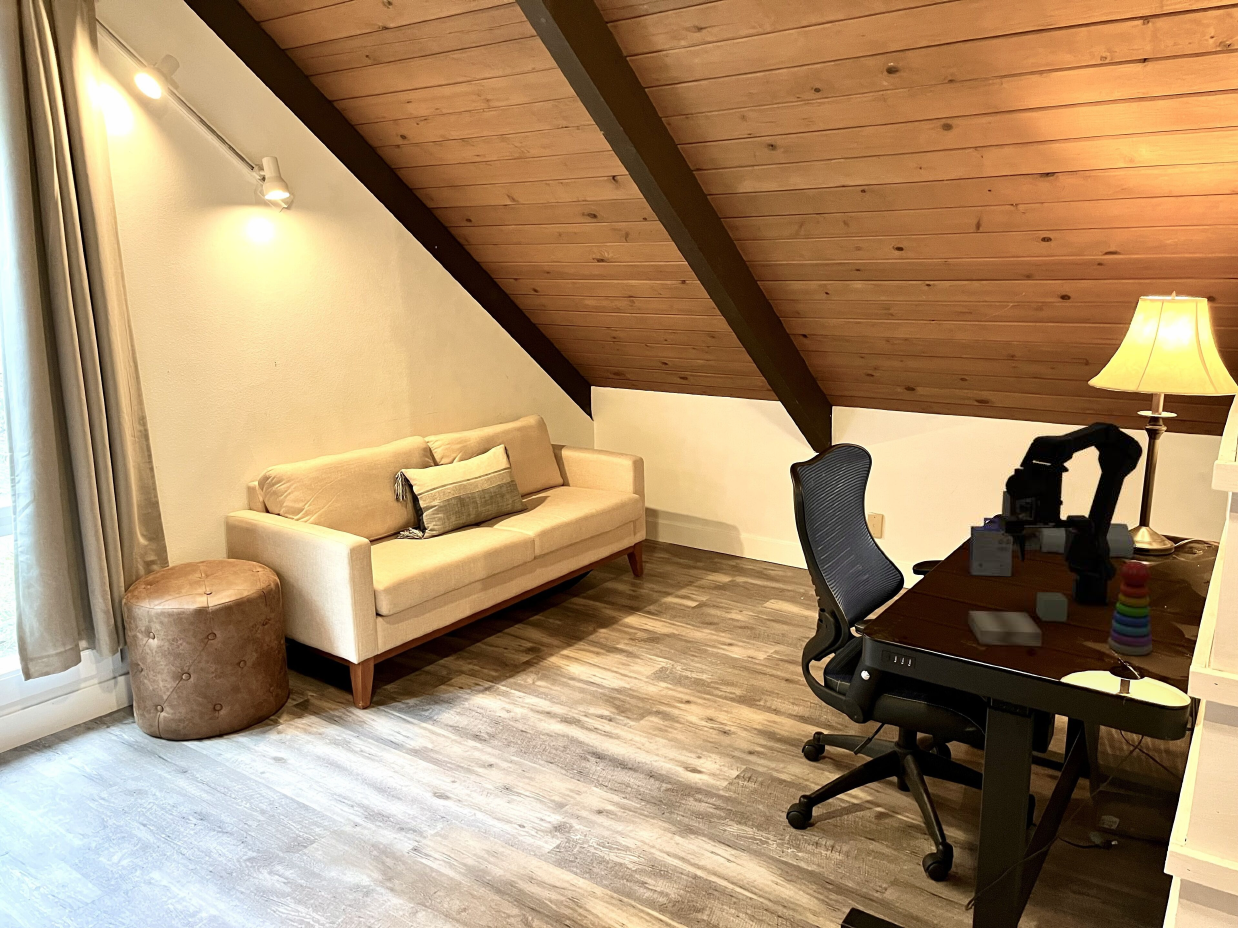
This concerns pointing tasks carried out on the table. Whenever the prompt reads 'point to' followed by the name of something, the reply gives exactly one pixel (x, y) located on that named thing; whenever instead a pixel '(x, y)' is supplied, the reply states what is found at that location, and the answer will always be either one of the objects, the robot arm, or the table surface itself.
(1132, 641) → the stacking toy
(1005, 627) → the birch base block
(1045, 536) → the book
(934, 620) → the table surface
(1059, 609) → the sage cube
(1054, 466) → the robot arm
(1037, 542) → the coffee box
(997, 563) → the ink cartridge box
